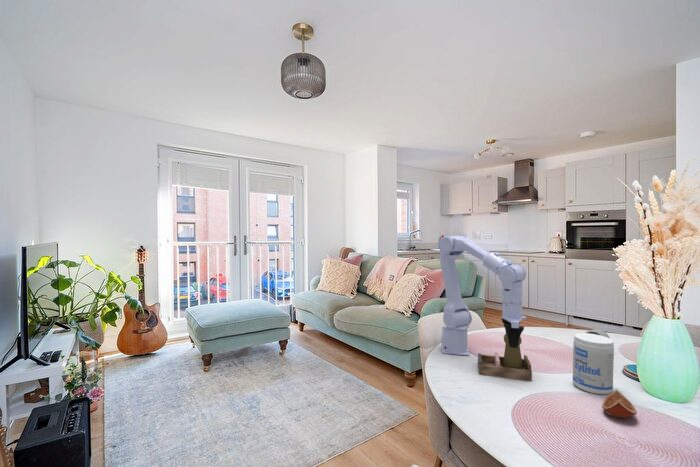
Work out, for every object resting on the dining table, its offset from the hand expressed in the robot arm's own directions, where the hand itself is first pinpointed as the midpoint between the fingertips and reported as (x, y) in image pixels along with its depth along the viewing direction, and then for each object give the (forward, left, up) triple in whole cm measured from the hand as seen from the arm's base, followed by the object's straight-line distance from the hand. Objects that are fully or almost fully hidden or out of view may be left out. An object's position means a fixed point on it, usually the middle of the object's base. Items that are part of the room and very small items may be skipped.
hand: (512, 344), depth 108 cm
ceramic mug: (+32, +34, -10) cm, 47 cm away
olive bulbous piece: (0, 0, -8) cm, 8 cm away
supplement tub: (+21, -4, -9) cm, 23 cm away
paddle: (-5, 0, -8) cm, 9 cm away
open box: (-3, 0, -9) cm, 10 cm away
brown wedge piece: (+22, -19, -9) cm, 30 cm away
